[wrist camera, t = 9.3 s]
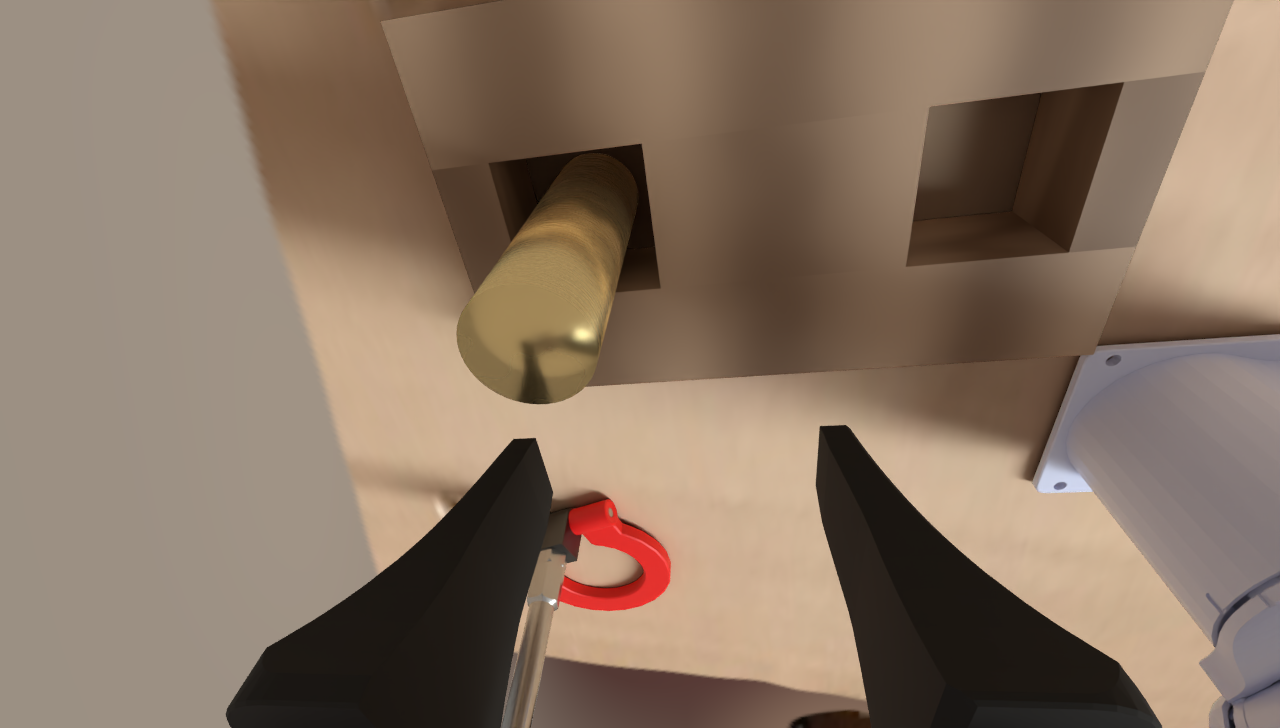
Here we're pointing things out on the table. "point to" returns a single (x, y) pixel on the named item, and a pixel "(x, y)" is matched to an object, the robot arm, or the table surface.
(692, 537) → the table surface
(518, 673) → the tow hook
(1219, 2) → the hole block
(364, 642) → the robot arm
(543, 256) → the brass pin
